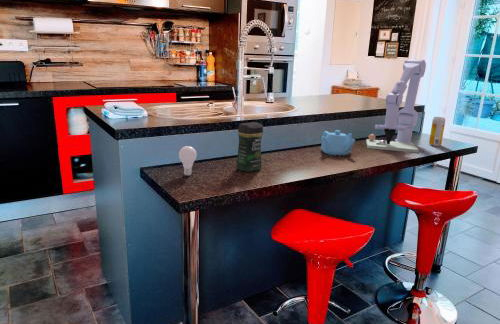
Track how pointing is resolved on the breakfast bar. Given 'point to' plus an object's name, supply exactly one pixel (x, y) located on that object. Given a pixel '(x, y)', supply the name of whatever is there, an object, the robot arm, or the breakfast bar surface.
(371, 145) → the hole plate
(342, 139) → the teapot
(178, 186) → the breakfast bar surface
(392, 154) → the breakfast bar surface
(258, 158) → the coffee jar
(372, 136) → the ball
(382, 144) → the steel ball
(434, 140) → the beer can
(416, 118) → the robot arm
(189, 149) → the lightbulb
